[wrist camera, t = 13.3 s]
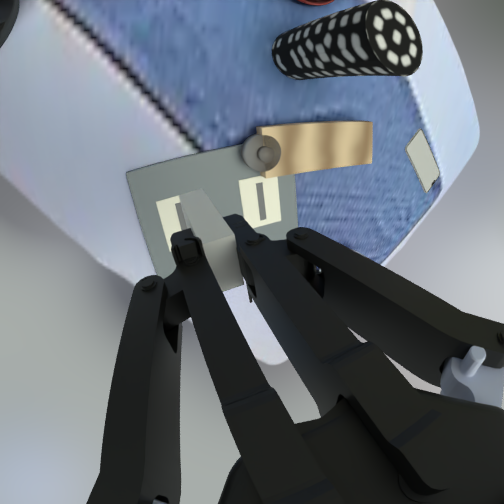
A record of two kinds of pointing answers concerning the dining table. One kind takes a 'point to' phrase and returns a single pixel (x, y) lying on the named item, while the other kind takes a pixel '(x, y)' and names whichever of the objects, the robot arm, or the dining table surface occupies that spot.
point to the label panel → (218, 191)
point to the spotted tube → (352, 44)
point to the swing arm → (307, 147)
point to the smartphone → (422, 160)
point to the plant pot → (316, 2)
